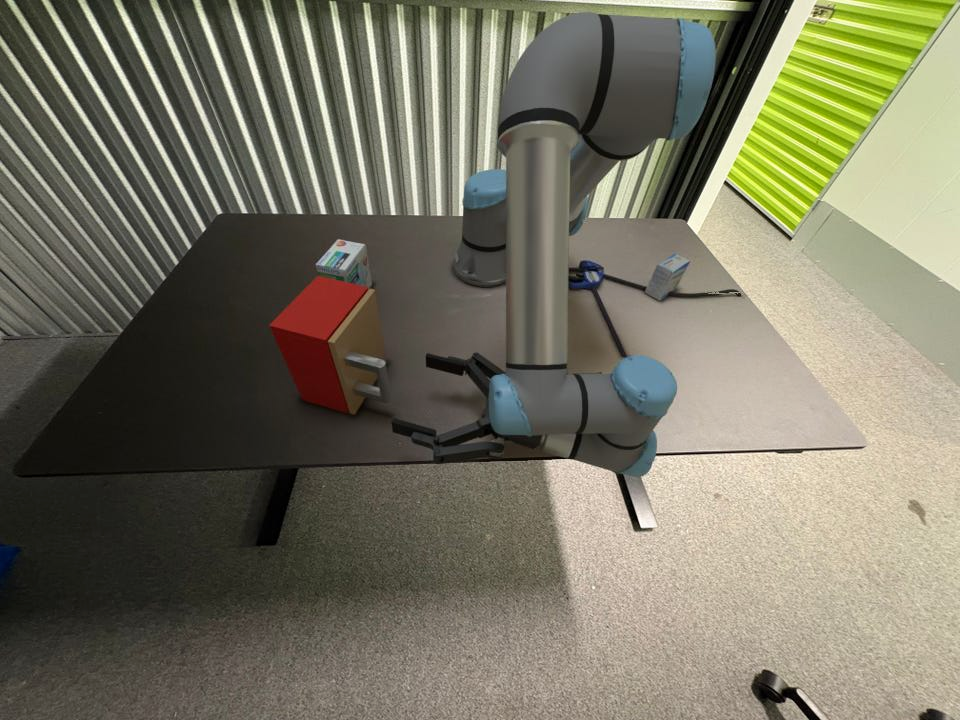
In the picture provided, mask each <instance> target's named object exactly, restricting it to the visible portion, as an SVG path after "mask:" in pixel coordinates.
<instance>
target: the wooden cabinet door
mask: <svg viewBox="0 0 960 720" xmlns="http://www.w3.org/2000/svg"><path fill="white" fill-rule="evenodd" d="M376 293H377V291H376V289H373V288H369V290H368V291H367V293H366V294H365V295H364V296H363V298H362V299H361V300H360V301H359V303H358V304H357V305H356V306H355V308H354V309H353V310H352V311H351V313H350V314H349V315H348V316H347V318H346V319H345V320H344V322H343V323H342V324H341V325H340V327H339V328H338V329H337V330H336V332H335V333H334V334H333V335H332V337H331V338H330V339H329V340H328V344H329V347H330V351H331V354H332V357H333V360H334V364H335V367H336V370H337V373H338V377H339V380H340V383H341V386H342V390H343V393H344V396H345V399H346V403H347V406H348V409H349V414H351V415H354V416H355V415H356V414H357V412H358V410H359V409H360V407H361V405H362V404H363V403H364V401H365V399H369V400H373V401H376V402H380V403H384V404H388V403H390V402H391V401H392V394H391V388H390V381H389V376H388V371H387V370H388V369H387V361H388V360H387V356H386V350H385V342H384V337H383V331H382V330H383V329H382V323H381V317H380V311H379V305H378V300H377V299H378V298H377V294H376ZM376 382H377V385H378V386H374V385H375V383H376Z"/></svg>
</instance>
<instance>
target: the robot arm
mask: <svg viewBox="0 0 960 720" xmlns="http://www.w3.org/2000/svg"><path fill="white" fill-rule="evenodd" d="M716 50H717V49H716V42H715V38H714V35H713V32H712V31H711V30H710V28H709V27H708V26H706V25H705V24H704V23H701V22H694V21H690V20H684V19H683V18H682V17H677V18H666V17H651V16H650V17H649V16H636V15H622V14H621V15H620V14H619V15H618V14H604V13H597V12H591V11H580V12H575V13H571V14H569V15H566V16H563V17H561V18H559V19H557V20H554V21H553V22H552V23H551V24H549V25H547V27H545V28H544V29H542V30H541V32H539V34H538V35H536V36H535V37H534V38H533V40H532V41H531V42H530V43H529V44H528V46H527V47H526V48H525V49H524V51H523V52H522V54H521V56H520V57H519V58H518V59H517V62H516V64H515V65H514V68H513V69H512V71H511V74H510V75H509V78H508V80H507V81H506V85H505V88H504V91H503V93H502V97H501V101H500V106H499V110H498V119H497V148H498V151H499V153H500V154H501V155H502V156H504V157H505V169H501V168H492V169H486V170H482V171H481V170H480V171H478V172H476V173H474V174H473V175H471V176H470V177H468V179H467V180H466V181H465V184H464V188H463V198H462V200H461V203H462V207H463V208H462V226H461V227H462V228H461V241H460V244H459V246H458V249H457V251H456V252H455V254H454V260H453V272H454V274H455V275H456V277H457V278H458V279H460V280H461V281H462V282H463V283H466V284H468V285H472V286H474V287H480V288H492V287H497V286H501V285H505V371H504V370H503V369H501V368H500V367H499V366H497V365H496V364H494V363H493V362H491V361H490V360H489V359H487V358H486V357H485V356H483V355H482V354H480V353H479V352H473V353H472V354H471V355H472V356H471V357H470V358H467V359H463V358H459V357H455V356H452V355H451V356H449V355H448V356H447V357H444V356H441V355H437V354H432V353H429V352H427V353H426V354H425V356H424V357H425V367H426V368H429V369H433V370H437V371H440V372H444V373H449V374H451V375H456V376H460V377H463V376H468V378H470V380H471V382H473V384H474V385H475V386H476V387H477V388H478V389H479V391H480V392H481V393H482V394H483V395H484V397H485V398H486V401H485V408H483V411H482V413H481V418H478V419H477V420H476V421H474V422H472V423H470V424H465V425H463V426H461V427H458V428H455V429H452V430H449V431H446V432H443V433H440V434H438V435H437V429H435V428H431V427H427V426H424V425H420V424H417V423H413V422H410V421H405V420H402V419H398V418H395V417H393V418H392V420H391V422H390V423H391V429H392V433H394V434H397V435H400V436H403V437H408V438H411V439H410V441H411V443H413V444H414V445H417V446H421V447H424V448H427V449H430V450H432V453H433V454H432V455H433V456H432V457H433V463H434V464H435V465H443V464H450V463H451V464H452V463H457V462H465V461H470V460H477V459H485V458H487V459H494V460H502V459H503V457H504V452H505V447H506V446H505V445H504V444H505V442H511V443H513V444H514V445H516V446H520V447H523V448H528V449H531V450H537V449H538V447H540V451H541V452H543V453H546V454H549V455H553V456H556V457H560V458H564V459H568V460H570V461H571V460H572V461H576V462H580V463H583V464H587V465H590V466H594V467H597V468H600V469H603V470H607V471H610V472H611V473H613V474H618V475H619V474H621V475H625V476H631V477H636V478H642V477H644V476H646V475H647V474H648V473H649V472H650V471H651V469H652V466H653V463H654V462H655V460H656V456H657V449H658V438H657V435H656V432H655V428H656V427H657V425H658V424H659V423H660V421H661V420H662V419H663V417H665V416H666V415H667V413H668V411H669V408H671V406H672V404H673V402H674V399H675V398H676V395H677V392H678V383H677V380H676V378H675V376H674V375H673V372H672V371H671V369H670V368H669V367H667V366H666V365H665V364H664V363H662V362H661V361H659V360H657V359H655V358H653V357H651V356H646V355H639V354H635V355H634V354H633V355H630V356H626V357H625V358H623V359H621V360H620V361H619V362H618V363H617V364H616V365H615V366H614V367H613V369H612V371H611V372H610V373H609V372H608V373H602V374H575V373H568V350H569V349H568V348H569V347H568V345H569V343H568V341H569V338H568V337H569V282H568V276H569V272H576V273H578V272H579V273H584V270H583V269H581V268H579V267H569V265H570V264H569V263H570V262H569V260H570V259H569V258H570V237H572V236H574V235H575V234H577V233H578V232H579V231H580V230H581V228H582V226H583V224H584V221H585V220H586V217H587V212H588V208H589V207H588V206H589V201H588V200H589V199H588V198H589V197H588V195H590V194H591V192H592V191H593V190H594V189H595V188H596V187H597V186H598V185H599V184H600V183H601V181H602V180H604V178H605V177H606V176H607V175H608V174H609V173H610V172H611V171H612V169H614V168H615V166H616V165H617V164H618V163H619V162H623V161H628V160H631V159H634V158H636V157H637V156H639V155H640V154H641V153H643V152H644V151H646V149H647V148H648V147H649V146H650V145H651V144H652V143H653V142H654V141H655V140H658V139H662V140H663V139H664V140H666V141H668V142H669V141H672V140H677V139H678V140H680V139H682V138H684V137H686V136H687V135H688V134H689V133H690V132H692V130H693V129H694V127H695V126H696V125H697V123H698V121H699V120H700V118H701V116H702V114H703V112H704V109H705V107H706V104H707V101H708V98H709V96H710V92H711V89H712V85H713V82H714V81H713V80H714V77H715V69H716V60H717V59H716V54H717V53H716ZM603 278H604V279H607V280H610V281H614V282H617V283H620V284H623V285H626V286H629V287H633V288H635V289H639V290H643V291H646V288H647V286H646V285H642V284H638V283H636V282H632V281H629V280H626V279H622V278H619V277H616V276H613V275H609V274H606V273H603V276H602V279H603ZM706 292H707V293H705V292H694V293H690V292H689V293H686V292H675V291H673V292H669V294H668V295H667V296H670V297H679V298H702V297H717V296H722V295H723V294H708V293H712V292H713V291H706ZM714 292H715V293H716V292H717V291H714ZM718 292H719V293H726V294H727V295H728V294H730V293H729V292H740V291H739V290H738V289H733V288H730V289H729V288H728V289H723V290H718ZM726 294H725V295H726ZM734 294H735V295H736V296H737V297H738V298H742V296H743V295H742V293H741V292H740V293H738V294H737V293H734ZM488 436H492V437H493V439H492V440H490V441H478V442H470V443H467V442H469V441H473V440H476V439H483V438H485V437H488Z"/></svg>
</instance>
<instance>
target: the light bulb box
mask: <svg viewBox="0 0 960 720" xmlns="http://www.w3.org/2000/svg"><path fill="white" fill-rule="evenodd" d="M315 267H316V271H317V274H318V275H317V276H322V277H327V278H331V279H335V280H339V281H343V282H348V283H352V284H356V285H360V286H364V287H368V290H369V289H371V287H372V286H373V282H372V277H371V269H370V263H369V257H368V251H367V245H366V244H365V243H359V242H354V241H349V240H345V239H339V238H338V239H336V241H335V242H334V243H333V244H332V245H331V246H330V248H329V249H328V250H327V251H326V252H325V254H323V255H322V257H321V258H320V259H319V260H318V261H317V262H316V263H315Z"/></svg>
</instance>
